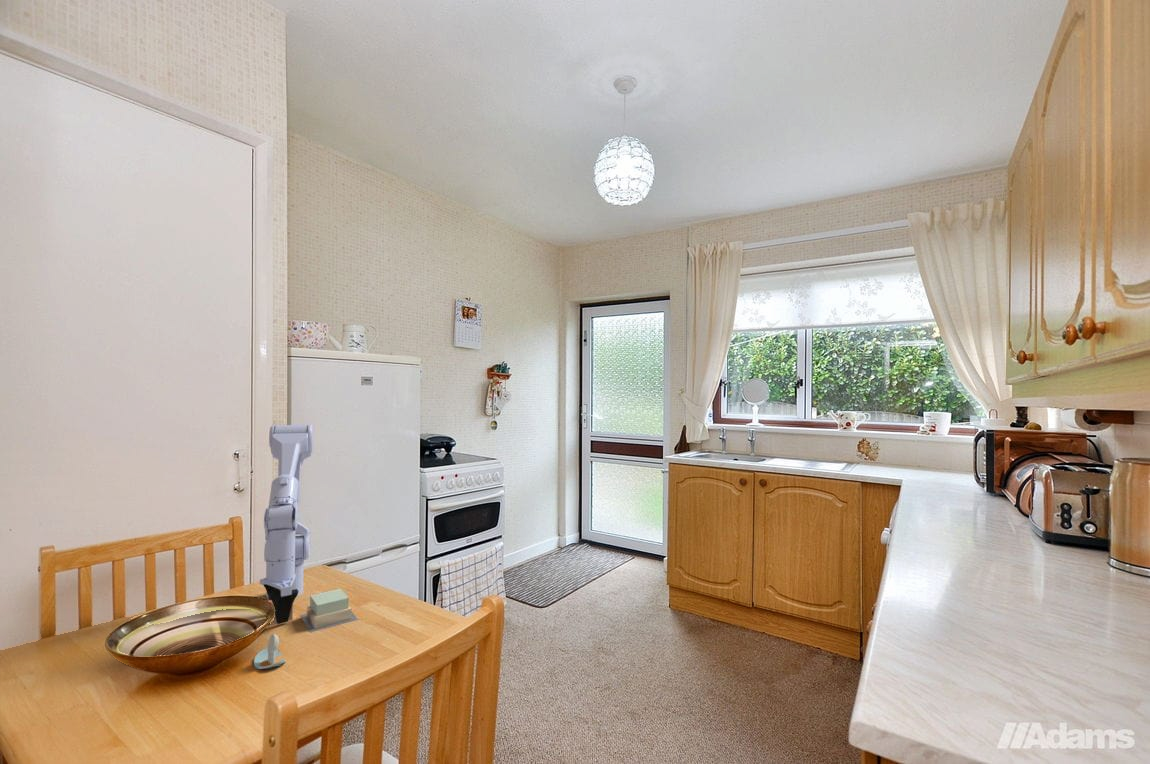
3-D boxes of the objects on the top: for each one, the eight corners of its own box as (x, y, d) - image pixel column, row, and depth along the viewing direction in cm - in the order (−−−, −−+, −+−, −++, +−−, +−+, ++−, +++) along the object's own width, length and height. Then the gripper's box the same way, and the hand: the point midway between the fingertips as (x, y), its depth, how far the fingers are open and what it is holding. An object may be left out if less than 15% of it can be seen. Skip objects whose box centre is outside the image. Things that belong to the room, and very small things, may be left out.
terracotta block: (266, 622, 117) (267, 600, 117) (288, 617, 120) (288, 595, 120) (270, 630, 114) (270, 607, 114) (292, 624, 117) (292, 602, 117)
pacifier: (252, 684, 94) (288, 670, 98) (252, 651, 94) (288, 638, 98) (242, 668, 99) (277, 655, 104) (242, 636, 99) (276, 625, 103)
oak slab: (306, 615, 119) (307, 605, 119) (341, 607, 124) (341, 597, 124) (314, 628, 113) (315, 617, 113) (351, 618, 118) (351, 608, 118)
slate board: (299, 619, 119) (300, 615, 119) (345, 608, 125) (345, 604, 125) (310, 636, 111) (310, 632, 111) (358, 623, 117) (358, 619, 117)
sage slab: (310, 605, 119) (310, 595, 119) (340, 598, 123) (340, 588, 123) (317, 616, 114) (317, 605, 114) (348, 608, 118) (348, 597, 118)
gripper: (255, 552, 120) (254, 610, 120) (265, 570, 109) (264, 634, 109) (289, 546, 125) (288, 602, 125) (302, 563, 113) (301, 625, 113)
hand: (279, 616), depth 117 cm, fingers open, 6 cm apart
